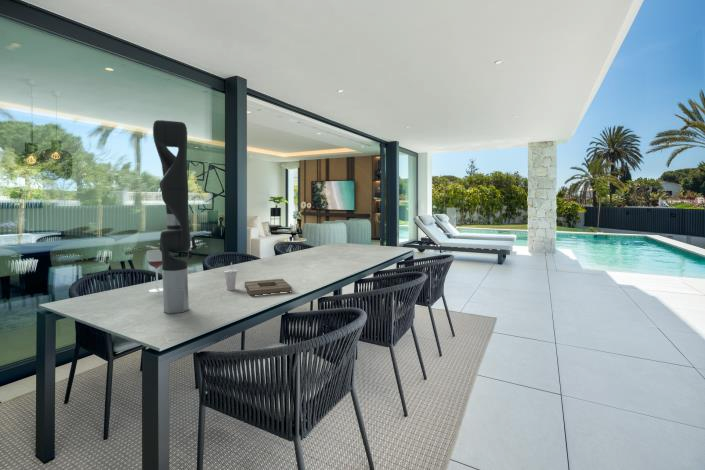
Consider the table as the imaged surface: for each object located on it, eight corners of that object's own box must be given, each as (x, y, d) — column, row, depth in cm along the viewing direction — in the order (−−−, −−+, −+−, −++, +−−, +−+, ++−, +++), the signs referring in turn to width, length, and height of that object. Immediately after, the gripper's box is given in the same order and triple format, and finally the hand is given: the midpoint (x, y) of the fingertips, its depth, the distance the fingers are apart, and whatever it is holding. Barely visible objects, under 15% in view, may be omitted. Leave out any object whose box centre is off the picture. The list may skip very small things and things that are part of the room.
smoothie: (233, 291, 178) (232, 263, 177) (221, 290, 179) (221, 263, 178) (239, 288, 184) (239, 261, 183) (228, 287, 186) (228, 261, 184)
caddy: (291, 292, 177) (291, 286, 176) (250, 296, 168) (250, 290, 168) (282, 284, 195) (282, 278, 195) (244, 287, 187) (244, 281, 186)
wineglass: (170, 288, 183) (168, 249, 181) (159, 292, 174) (157, 252, 172) (155, 287, 184) (154, 249, 182) (144, 291, 175) (142, 251, 173)
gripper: (158, 225, 150) (161, 263, 153) (194, 223, 157) (197, 259, 160) (157, 224, 157) (160, 260, 159) (193, 222, 164) (195, 256, 166)
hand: (179, 259), depth 159 cm, fingers open, 8 cm apart
